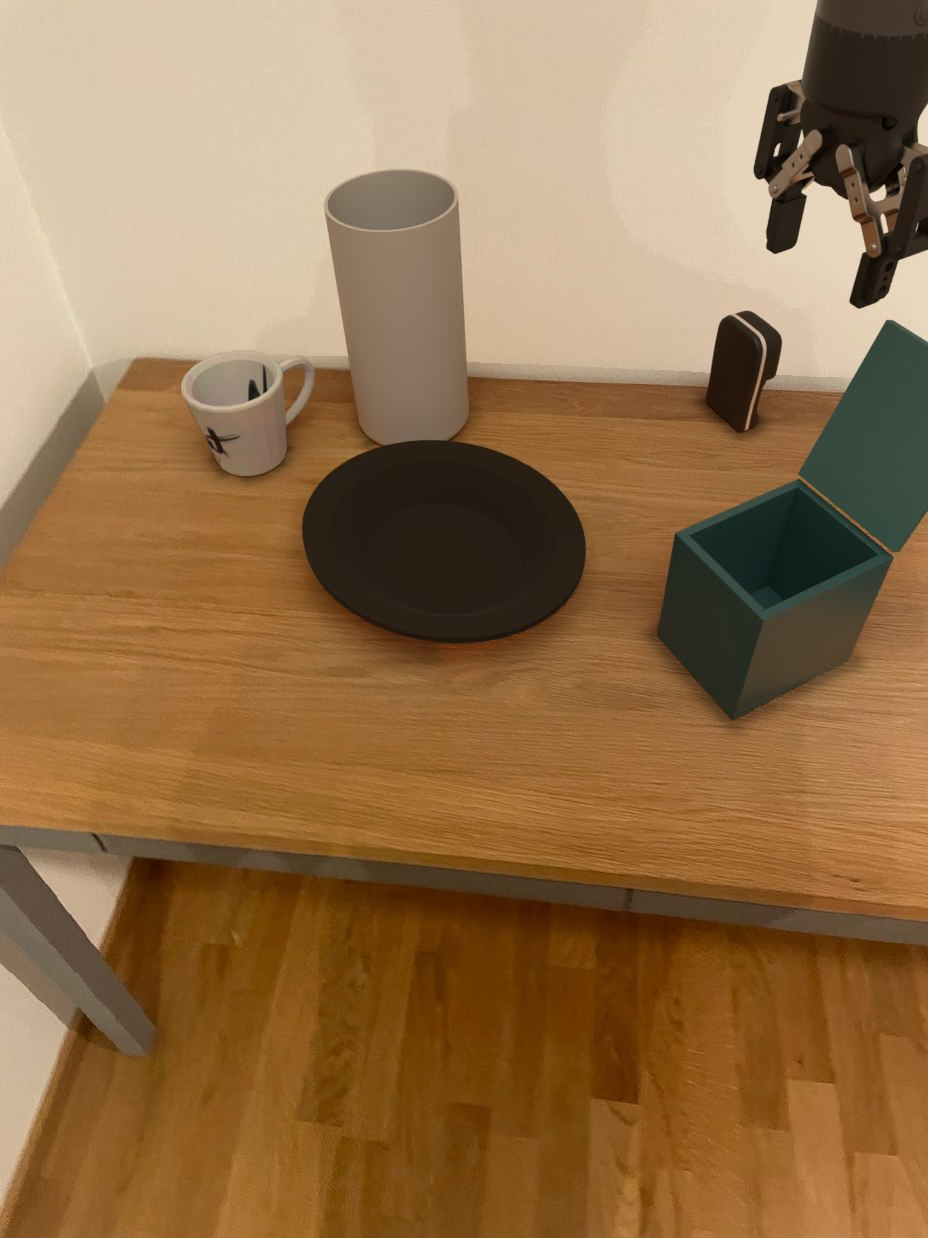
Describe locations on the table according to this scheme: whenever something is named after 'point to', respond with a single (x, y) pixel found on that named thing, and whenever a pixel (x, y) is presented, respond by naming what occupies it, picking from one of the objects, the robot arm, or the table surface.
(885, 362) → the cover
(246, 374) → the mug
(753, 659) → the tray box
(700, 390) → the table surface
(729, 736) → the table surface
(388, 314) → the cylinder vase
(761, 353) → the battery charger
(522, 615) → the plate
